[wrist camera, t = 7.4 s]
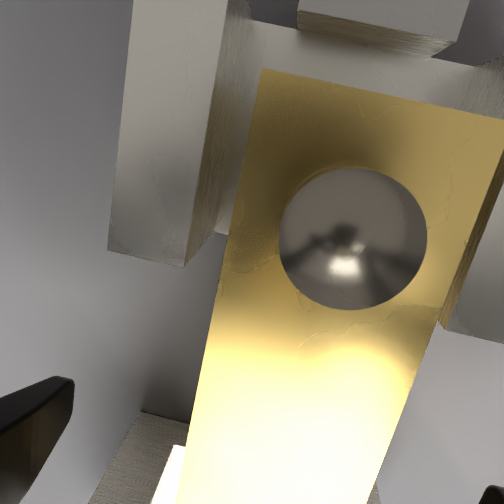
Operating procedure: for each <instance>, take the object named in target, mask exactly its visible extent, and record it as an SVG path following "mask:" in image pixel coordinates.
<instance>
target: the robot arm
mask: <svg viewBox="0 0 504 504" xmlns="http://www.w3.org/2000/svg"><path fill="white" fill-rule="evenodd" d="M74 389H75V384H74V381H73V380H72V379H69V378H65V377H61V376H53V377H50V378H48V379H45V380H43V381H40V382H38V383H35V384H33V385H30V386H28V387H26V388H23V389H21V390H18V391H16V392H13V393H11V394H8V395H6V396H3V397H1V398H0V504H19V503H20V502H21V501H22V499H23V498H24V496H25V495H26V493H27V492H28V490H29V489H30V487H31V486H32V484H33V482H34V481H35V479H36V477H37V476H38V474H39V472H40V470H41V469H42V467H43V465H44V464H45V462H46V460H47V458H48V457H49V455H50V453H51V452H52V450H53V448H54V446H55V445H56V443H57V441H58V440H59V438H60V436H61V434H62V433H63V431H64V429H65V428H66V426H67V424H68V422H69V420H70V418H71V415H72V411H73V400H74ZM479 504H504V487H500V486H496V485H490V486H488V487H487V488H486V490H485V492H484V494H483V496H482V498H481V500H480V502H479Z"/></svg>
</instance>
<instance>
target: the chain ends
mask: <svg viewBox="0 0 504 504" xmlns="http://www.w3.org/2000/svg"><path fill="white" fill-rule="evenodd" d="M469 2H470V0H299V4H298V8H297V29H293V28H288V27H283V26H279V25H274V24H269V23H264V22H260V21H255V20H253V18H252V15H251V12H250V9H249V7H248V4H247V1H246V0H133V10H132V19H131V29H130V38H129V47H128V57H127V66H126V76H125V85H124V95H123V104H122V113H121V123H120V132H119V142H118V151H117V160H116V170H115V179H114V189H113V198H112V208H111V217H110V226H109V236H108V245H107V250H109V251H113V252H117V253H121V254H126V255H130V256H134V257H138V258H143V259H147V260H151V261H155V262H160V263H164V264H168V265H172V266H176V267H181V268H183V267H184V266H185V265H186V264H187V263H188V262H189V260H190V259H191V258H192V257H193V256H194V254H195V253H196V252H197V251H198V250H199V249H200V247H201V246H202V245H203V244H204V243H205V242H206V240H207V239H208V238H209V237H210V236H211V234H212V233H213V232H217V233H221V234H226V235H228V234H229V229H230V224H231V219H232V214H233V209H234V204H235V199H236V194H237V189H238V184H239V179H240V174H241V169H242V164H243V159H244V154H245V149H246V144H247V139H248V134H249V129H250V124H251V119H252V114H253V109H254V104H255V99H256V94H257V89H258V84H259V79H260V74H261V69H262V68H266V69H271V70H275V71H280V72H284V73H289V74H294V75H298V76H303V77H308V78H312V79H317V80H322V81H326V82H331V83H335V84H340V85H345V86H349V87H354V88H359V89H363V90H368V91H372V92H377V93H382V94H386V95H391V96H396V97H400V98H405V99H410V100H414V101H419V102H423V103H428V104H433V105H437V106H442V107H447V108H451V109H456V110H460V111H465V112H470V113H474V114H479V115H484V116H488V117H493V118H497V119H502V120H504V56H502V57H499V58H497V59H494V60H492V61H489V62H486V63H484V64H481V65H478V66H476V67H474V66H469V65H465V64H460V63H455V62H450V61H446V60H441V59H436V58H431V56H433V55H435V54H437V53H438V52H440V51H442V50H443V49H445V48H447V47H449V46H450V45H452V44H454V43H455V42H457V38H458V35H459V32H460V29H461V26H462V23H463V20H464V17H465V14H466V11H467V8H468V5H469ZM437 320H438V321H439V323H440V324H441V325H442V327H443V328H444V329H445V330H447V331H452V332H456V333H460V334H464V335H469V336H473V337H477V338H481V339H486V340H490V341H494V342H498V343H502V344H504V150H503V152H502V155H501V157H500V160H499V162H498V165H497V168H496V170H495V173H494V175H493V178H492V180H491V183H490V186H489V188H488V191H487V193H486V196H485V198H484V201H483V204H482V206H481V209H480V211H479V214H478V216H477V219H476V222H475V224H474V227H473V229H472V232H471V234H470V237H469V240H468V242H467V245H466V247H465V250H464V252H463V255H462V258H461V260H460V263H459V265H458V268H457V271H456V273H455V276H454V278H453V281H452V283H451V286H450V289H449V291H448V294H447V296H446V299H445V301H444V304H443V307H442V309H441V312H440V314H439V317H438V319H437ZM189 428H190V424H187V423H183V422H179V421H175V420H171V419H167V418H163V417H159V416H155V415H151V414H147V413H143V412H139V414H138V415H137V417H136V419H135V421H134V423H133V424H132V426H131V428H130V430H129V431H128V433H127V435H126V437H125V438H124V440H123V442H122V444H121V446H120V447H119V449H118V451H117V453H116V454H115V456H114V458H113V460H112V462H111V463H110V465H109V467H108V469H107V470H106V472H105V474H104V476H103V477H102V479H101V481H100V483H99V485H98V486H97V488H96V490H95V492H94V493H93V495H92V497H91V499H90V501H89V502H88V504H174V503H175V498H176V493H177V488H178V483H179V478H180V473H181V468H182V463H183V458H184V453H185V448H186V443H187V438H188V433H189ZM366 504H381V502H380V498H379V494H378V489H377V485H376V481H375V482H374V484H373V487H372V489H371V492H370V494H369V497H368V500H367V502H366Z"/></svg>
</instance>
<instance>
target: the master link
mask: <svg viewBox="0 0 504 504" xmlns="http://www.w3.org/2000/svg"><path fill="white" fill-rule="evenodd" d="M503 150H504V120H502V119H497V118H493V117H488V116H484V115H479V114H474V113H470V112H465V111H460V110H456V109H451V108H447V107H442V106H437V105H433V104H428V103H423V102H419V101H414V100H410V99H405V98H400V97H396V96H391V95H386V94H382V93H377V92H372V91H368V90H363V89H359V88H354V87H349V86H345V85H340V84H335V83H331V82H326V81H322V80H317V79H312V78H308V77H303V76H298V75H294V74H289V73H284V72H280V71H275V70H271V69H266V68H262V69H261V74H260V79H259V84H258V89H257V94H256V99H255V104H254V109H253V114H252V119H251V124H250V129H249V134H248V139H247V144H246V149H245V154H244V159H243V164H242V169H241V174H240V179H239V184H238V189H237V194H236V199H235V204H234V209H233V214H232V219H231V224H230V229H229V234H228V238H227V243H226V248H225V253H224V258H223V263H222V268H221V273H220V278H219V283H218V288H217V293H216V298H215V303H214V308H213V313H212V318H211V323H210V328H209V333H208V338H207V343H206V348H205V353H204V358H203V363H202V368H201V373H200V378H199V383H198V388H197V393H196V398H195V403H194V408H193V413H192V418H191V423H190V428H189V433H188V438H187V443H186V448H185V453H184V458H183V463H182V468H181V473H180V478H179V483H178V488H177V493H176V498H175V503H174V504H366V502H367V500H368V497H369V494H370V492H371V489H372V487H373V484H374V482H375V479H376V476H377V474H378V471H379V469H380V466H381V464H382V461H383V458H384V456H385V453H386V451H387V448H388V446H389V443H390V440H391V438H392V435H393V433H394V430H395V428H396V425H397V422H398V420H399V417H400V415H401V412H402V410H403V407H404V404H405V402H406V399H407V397H408V394H409V392H410V389H411V386H412V384H413V381H414V379H415V376H416V373H417V371H418V368H419V366H420V363H421V361H422V358H423V355H424V353H425V350H426V348H427V345H428V343H429V340H430V337H431V335H432V332H433V330H434V327H435V325H436V322H437V319H438V317H439V314H440V312H441V309H442V307H443V304H444V301H445V299H446V296H447V294H448V291H449V289H450V286H451V283H452V281H453V278H454V276H455V273H456V271H457V268H458V265H459V263H460V260H461V258H462V255H463V252H464V250H465V247H466V245H467V242H468V240H469V237H470V234H471V232H472V229H473V227H474V224H475V222H476V219H477V216H478V214H479V211H480V209H481V206H482V204H483V201H484V198H485V196H486V193H487V191H488V188H489V186H490V183H491V180H492V178H493V175H494V173H495V170H496V168H497V165H498V162H499V160H500V157H501V155H502V152H503Z"/></svg>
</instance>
